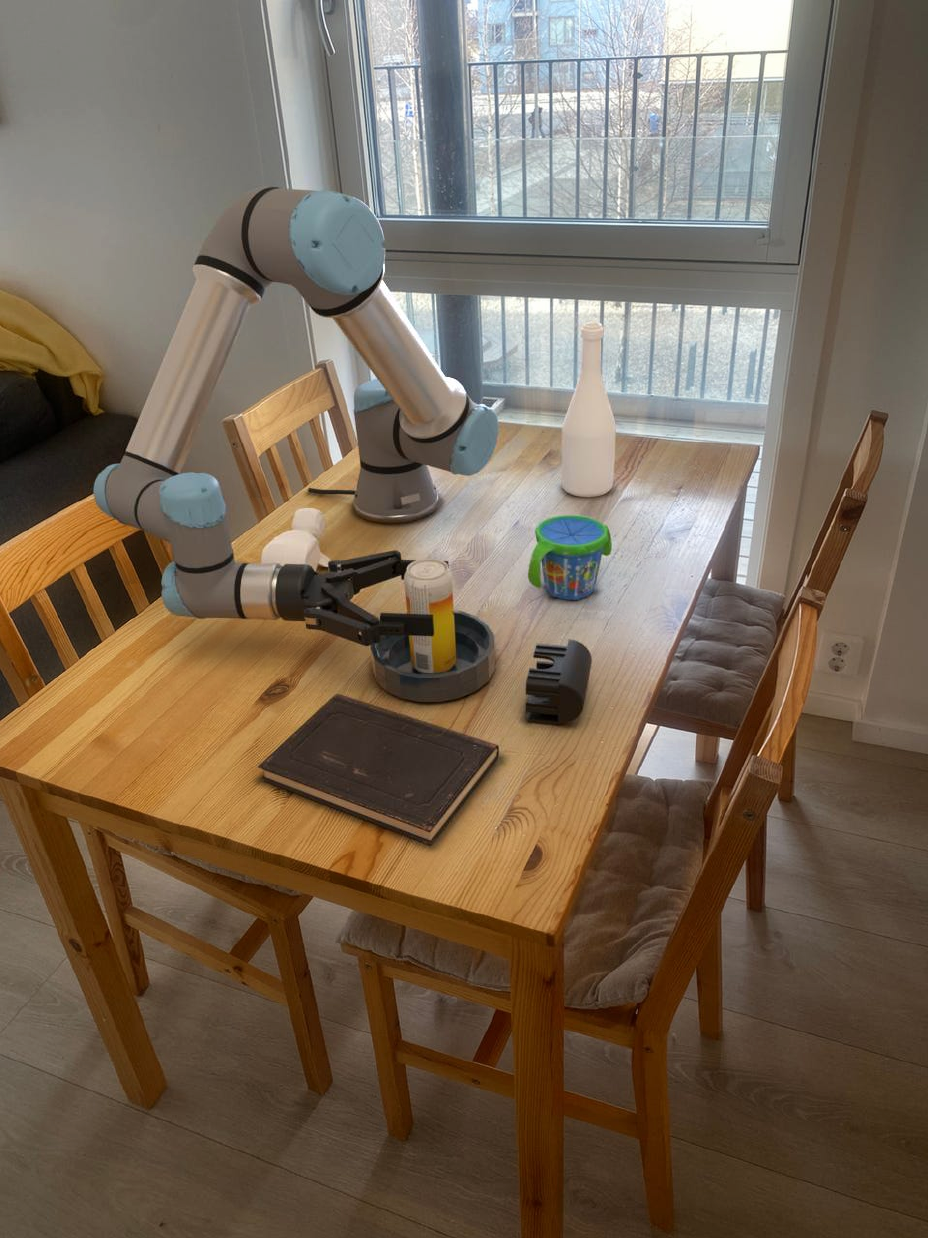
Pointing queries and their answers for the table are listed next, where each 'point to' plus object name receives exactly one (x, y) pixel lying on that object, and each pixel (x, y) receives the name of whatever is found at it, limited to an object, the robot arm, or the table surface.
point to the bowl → (459, 681)
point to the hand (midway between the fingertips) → (441, 597)
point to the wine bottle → (589, 426)
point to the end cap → (558, 683)
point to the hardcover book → (381, 766)
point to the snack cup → (569, 555)
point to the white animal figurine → (299, 541)
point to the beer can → (434, 597)
